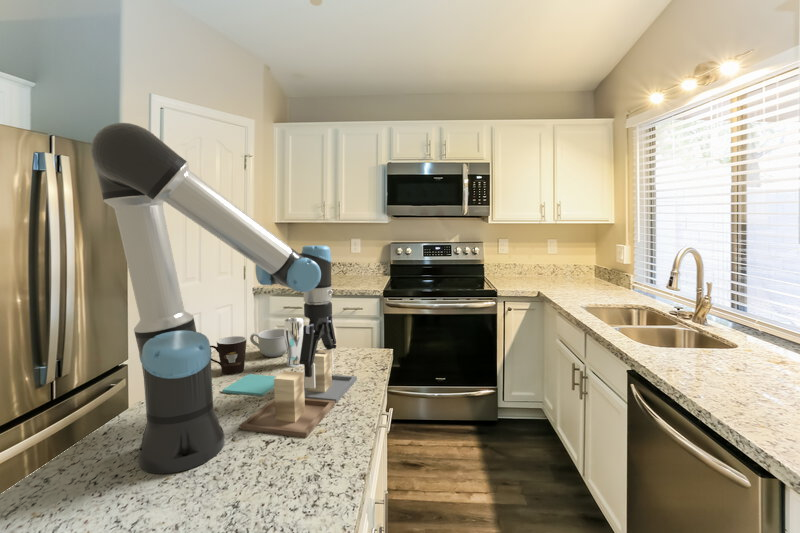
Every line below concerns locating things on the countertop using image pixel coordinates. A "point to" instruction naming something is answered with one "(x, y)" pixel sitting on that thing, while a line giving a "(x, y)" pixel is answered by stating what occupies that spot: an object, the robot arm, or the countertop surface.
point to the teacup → (270, 342)
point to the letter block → (322, 371)
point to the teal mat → (251, 385)
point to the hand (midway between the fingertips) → (320, 378)
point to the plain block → (289, 396)
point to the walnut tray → (300, 428)
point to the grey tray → (332, 388)
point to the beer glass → (293, 339)
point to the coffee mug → (231, 354)
